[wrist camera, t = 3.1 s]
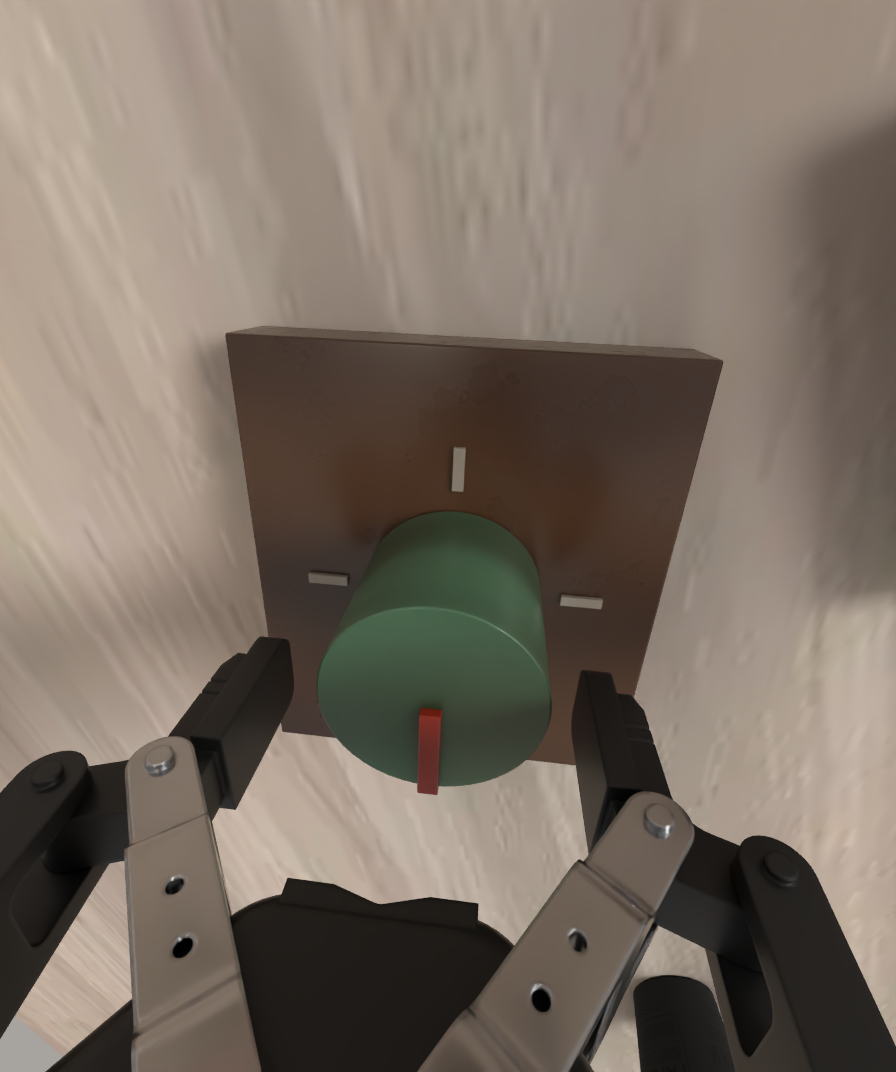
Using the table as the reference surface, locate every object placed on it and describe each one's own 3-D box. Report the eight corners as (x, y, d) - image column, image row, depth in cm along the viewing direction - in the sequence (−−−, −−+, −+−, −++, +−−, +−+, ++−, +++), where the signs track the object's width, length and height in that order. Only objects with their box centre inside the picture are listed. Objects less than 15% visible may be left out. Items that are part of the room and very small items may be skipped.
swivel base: (260, 325, 17) (221, 333, 15) (695, 348, 16) (727, 361, 14) (302, 690, 24) (280, 735, 22) (604, 723, 23) (615, 773, 21)
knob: (365, 503, 17) (301, 603, 12) (550, 518, 16) (570, 628, 11) (370, 649, 20) (320, 782, 14) (529, 665, 19) (537, 809, 14)
